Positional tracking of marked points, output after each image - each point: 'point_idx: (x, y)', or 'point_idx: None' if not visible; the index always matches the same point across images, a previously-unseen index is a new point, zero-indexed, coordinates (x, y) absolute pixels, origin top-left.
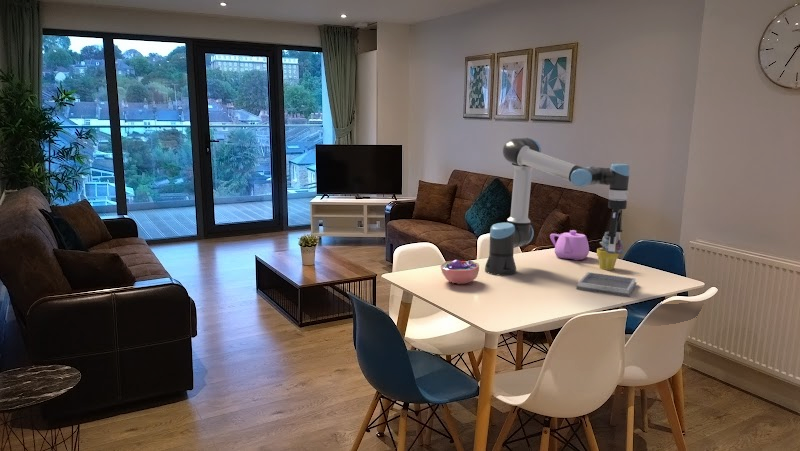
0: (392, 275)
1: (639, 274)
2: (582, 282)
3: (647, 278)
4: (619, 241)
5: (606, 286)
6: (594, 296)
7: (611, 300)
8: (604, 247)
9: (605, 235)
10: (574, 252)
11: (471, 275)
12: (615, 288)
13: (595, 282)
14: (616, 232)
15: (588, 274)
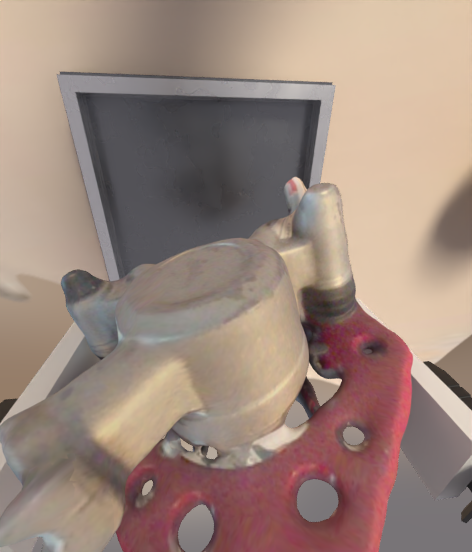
0: None
1: (442, 277)
2: (125, 95)
3: (393, 305)
4: (304, 405)
5: (99, 234)
6: (20, 192)
7: (26, 262)
8: (68, 295)
9: (9, 439)
10: None
11: None
12: (108, 269)
13: (211, 158)
14: (454, 468)
15: (285, 99)
